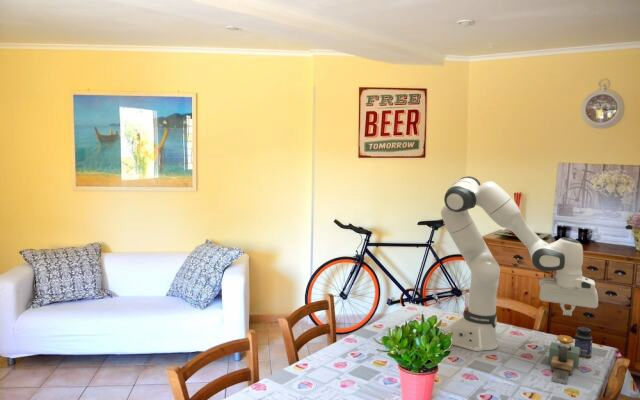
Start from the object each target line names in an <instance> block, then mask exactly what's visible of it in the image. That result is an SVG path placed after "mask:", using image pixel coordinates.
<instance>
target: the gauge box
mask: <svg viewBox="0 0 640 400" xmlns="http://www.w3.org/2000/svg"><path fill="white" fill-rule="evenodd" d="M559 346H560V342H559V343H558V342H553V341H551V342H550V345H549V350H548V352H549V353H548V364H551V361H552V358H553V356H557V357H558V353H559ZM579 349H580V347H575V345H570V351H568V354H567V359H571V360H573V369H576V370H578V368H579V361H580V360H579V359H580V357H579Z"/></svg>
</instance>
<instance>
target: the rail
mask: <svg viewBox="0 0 640 400" xmlns="http://www.w3.org/2000/svg"><path fill="white" fill-rule="evenodd" d="M569 376H570V371H569V370H564V369H560V368H555V367H554V369H553V371H552V375H551V382H553V383H558V384H563V385H566V386H567V385H568V382H569Z"/></svg>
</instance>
